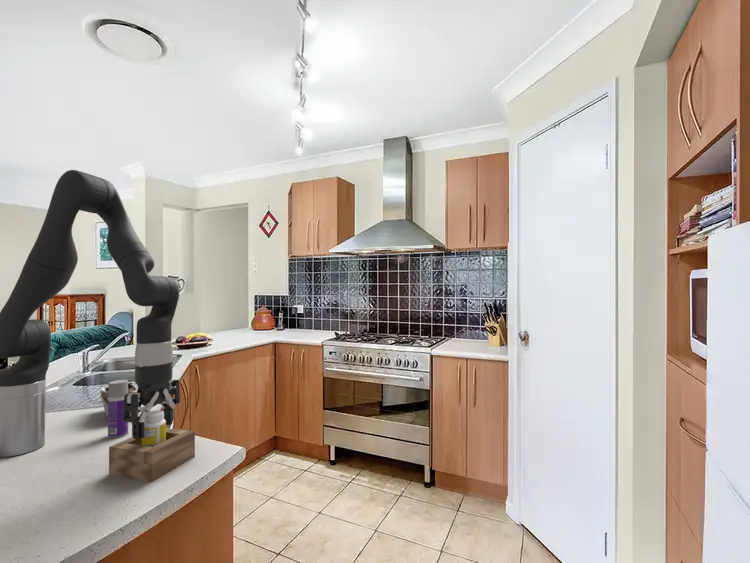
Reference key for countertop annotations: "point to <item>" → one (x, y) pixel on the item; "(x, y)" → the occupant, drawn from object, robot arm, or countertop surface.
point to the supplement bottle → (154, 428)
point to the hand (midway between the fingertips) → (153, 431)
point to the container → (117, 409)
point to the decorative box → (105, 394)
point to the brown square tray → (151, 456)
